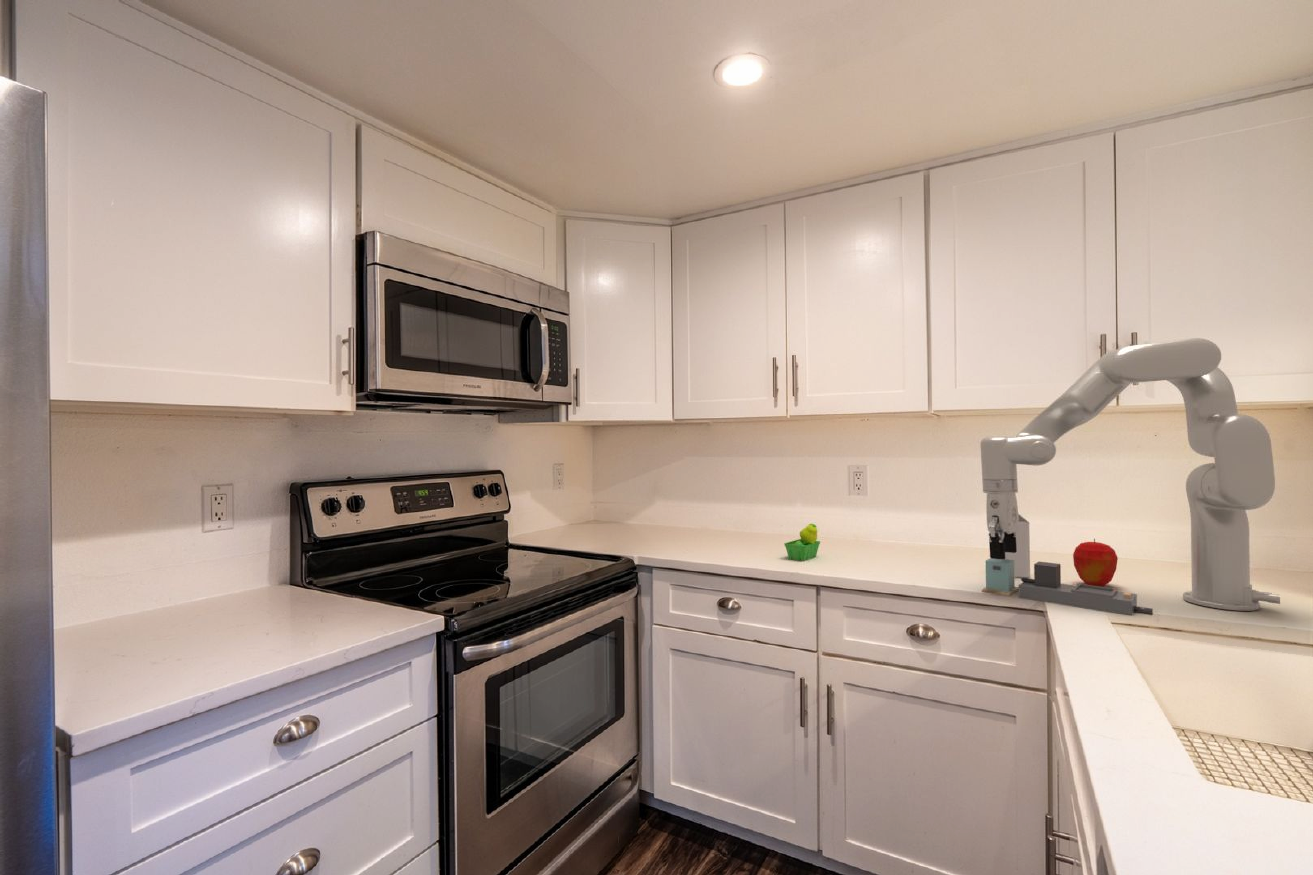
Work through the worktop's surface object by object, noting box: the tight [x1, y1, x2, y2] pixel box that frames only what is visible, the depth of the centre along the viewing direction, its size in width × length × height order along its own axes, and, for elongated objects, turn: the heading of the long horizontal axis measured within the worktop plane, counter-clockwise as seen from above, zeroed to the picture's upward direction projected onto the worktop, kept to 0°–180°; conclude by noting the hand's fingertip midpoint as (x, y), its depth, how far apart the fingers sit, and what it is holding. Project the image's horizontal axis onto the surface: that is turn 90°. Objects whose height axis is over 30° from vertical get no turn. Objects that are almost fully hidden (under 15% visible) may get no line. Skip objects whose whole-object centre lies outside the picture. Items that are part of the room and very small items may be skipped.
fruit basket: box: [783, 523, 821, 562], centre depth 189 cm, size 11×9×11 cm
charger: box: [985, 557, 1016, 592], centre depth 146 cm, size 5×5×7 cm
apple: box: [1072, 538, 1119, 587], centre depth 150 cm, size 9×9×12 cm
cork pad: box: [981, 586, 1019, 597], centre depth 147 cm, size 6×8×1 cm
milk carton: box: [999, 513, 1031, 578], centre depth 163 cm, size 7×7×19 cm
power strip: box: [1018, 561, 1154, 616], centre depth 135 cm, size 24×8×8 cm, turn 45°
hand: (1003, 555), depth 146 cm, fingers open, 9 cm apart
